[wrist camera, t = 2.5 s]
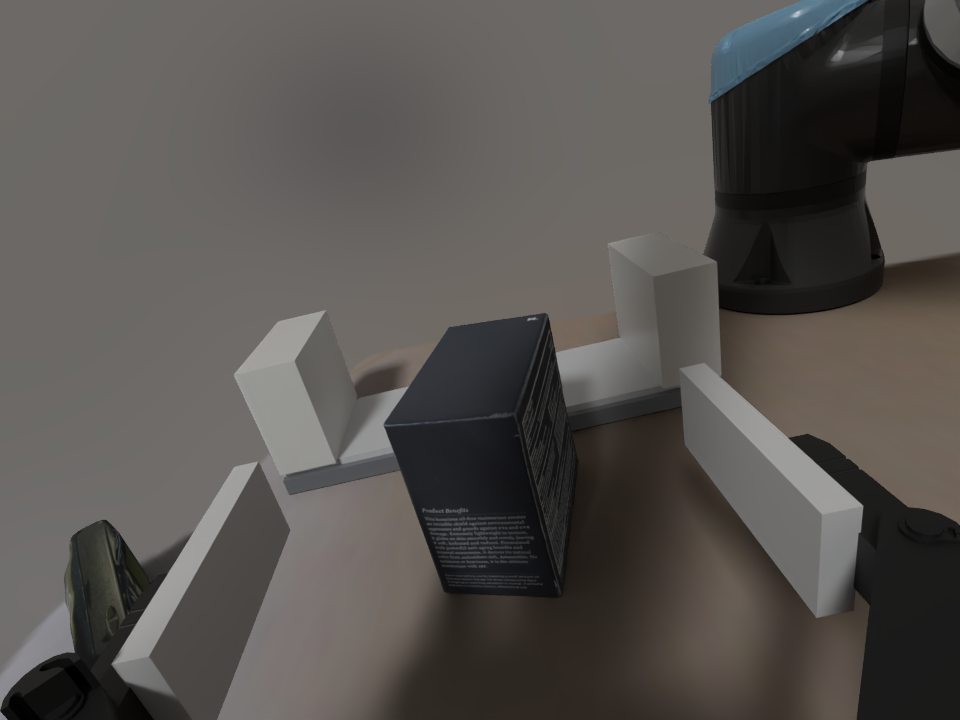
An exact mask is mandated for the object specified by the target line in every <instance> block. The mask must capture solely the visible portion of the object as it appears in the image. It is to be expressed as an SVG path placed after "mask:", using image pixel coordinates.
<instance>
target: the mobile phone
mask: <svg viewBox="0 0 960 720" xmlns="http://www.w3.org/2000/svg"><path fill="white" fill-rule="evenodd" d="M64 583H65V593H66V605H67V607H68V610H69V613H70V627H71V634H72V639H73V644H74V650H75V653H77V654H78V656H79V657H80V658H81V659H82V660H83V662H84V663H85V664H86V666H87V667H88V668H89V670H91V669H92V667H93V666H94V664H95V663H96V661H97V660H98V658H99V657H100V655H101V654H102V652H103V650H104V649H105V647H106V646H107V644H108V643H109V641H110V640H111V638H112V637H113V635H114V634H115V632H116V631H117V630H118V629H120V625H121V623H122V622H123V620H124V618H125V617H126V615H127V614H130V609H131V608H132V606H133V605H134V603H135V602H136V600H137V599H138V597H139V596H140V594H141V593H142V592H143V591H144V590H145V589H146V588H147V587H148V586H149V585H150V584H151V583H150V581H149V579H148V577H147V575H146V573H145V572H144V570H143V568H142V567H141V565H140V564H139V562H138V561H137V559H136V558H135V556H134V555H133V553H132V552H131V550H130V549H129V547H128V546H127V544H126V543H125V541H124V540H123V538H122V537H121V535H120V534H119V532H118V531H117V530H116V529H115V528H114V527H113V526H112V525H111V524H110V523H109V522H108V521H107V520H101V521H98V522H95V523H93V524H91V525H89V526H87V527H85V528H83V529H82V530H80V531H78V532H77V533H76V534H74V535H73V536H72V538H71V541H70V559H69V563H68V566H67V569H66V572H65V576H64Z"/></svg>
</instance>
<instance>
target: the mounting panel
mask: <svg viewBox="0 0 960 720" xmlns="http://www.w3.org/2000/svg"><path fill="white" fill-rule="evenodd" d="M556 357H557V363H558V368H559V372H560V378H561V383H562V390H563V396H564V401H565V405H566V410H567V415H568V419H569V424H570V429H571V431H575V430H579V429H584V428H588V427H592V426H597V425H601V424H606V423H610V422H615V421H619V420H623V419H628V418H632V417H637V416H641V415H646V414H650V413H654V412H659V411H663V410H668V409H672V408H677V407H681V406H682V401H681V387H680V385H678V386H674V387H669V388H665V389H663V388H662V387H661V386H660V384H659V383H658V382H657V381H656V380H655V378H654V377H653V376H652V375H651V373H650V372H649V371H648V370H647V369H646V367H645V366H644V365H643V364H642V363H641V361H640V360H639V359H638V358H637V357H636V355H635V354H634V353H633V352H632V350H631V349H630V348H629V347H628V346H627V344H626V343H625V342H624V341H623V340H622V338H616V339H612V340H608V341H603V342H599V343H595V344H590V345H586V346H582V347H577V348H573V349H569V350H564V351H560V352H556ZM408 387H409V386H408ZM408 387H404V388H400V389H395V390H391V391H387V392H382V393H378V394H374V395H369V396H365V397H361V398H356V402H355V405H354V408H353V411H352V414H351V417H350V421H349V424H348V427H347V430H346V433H345V436H344V440H343V443H342V446H341V449H340V452H339V455H338V458H337V462H336V463H334V464H330V465H325V466H321V467H316V468H312V469H308V470H303V471H299V472H294V473H290V474H286V475H284V476H285V478H284V481H283V482H284V484H285V486H286V488H287V491H288V493H289V495H291V494H295V493H300V492H304V491H309V490H313V489H317V488H322V487H326V486H331V485H335V484H340V483H344V482H348V481H353V480H357V479H362V478H366V477H371V476H375V475H380V474H384V473H388V472H393V471H397V470H400V468H399V466H398V463H397V460H396V458H395V455H394V452H393V449H392V446H391V444H390V441H389V439H388V436H387V433H386V430H385V428H384V426H383V424H384V422H385V420H386V419H387V418H388V416H389V415H390V413H391V412H392V410H393V409H394V408H395V406H396V405H397V403H398V402H399V400H400V399H401V398H402V396H403V395H404V393H405V392H406V390H407V389H408Z"/></svg>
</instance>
